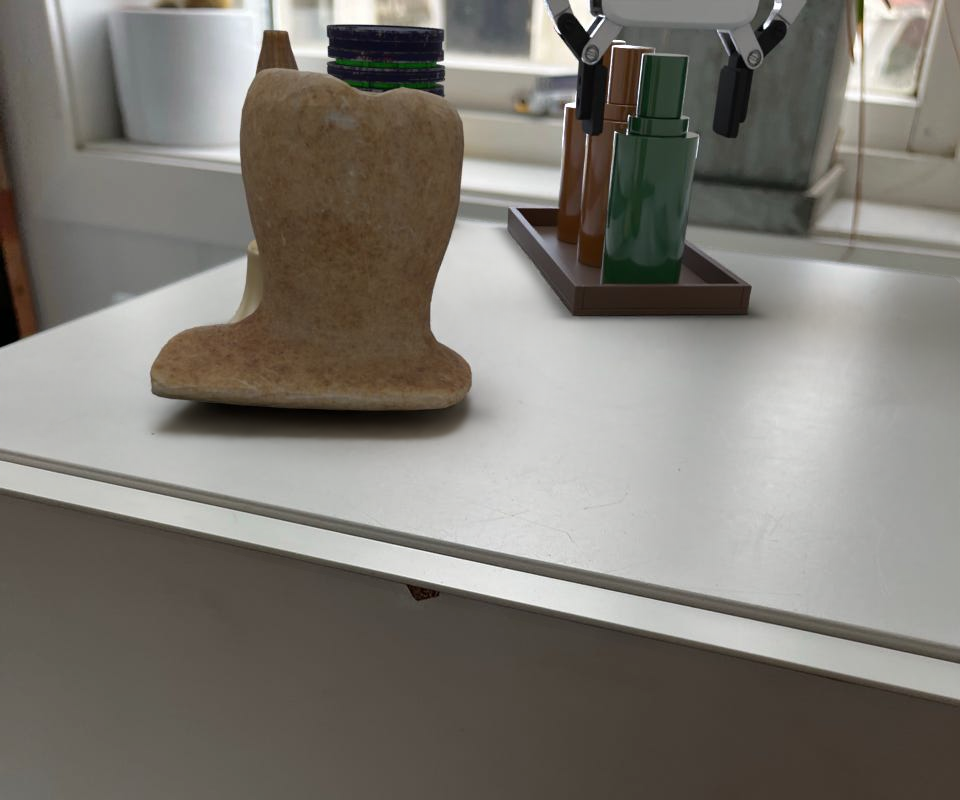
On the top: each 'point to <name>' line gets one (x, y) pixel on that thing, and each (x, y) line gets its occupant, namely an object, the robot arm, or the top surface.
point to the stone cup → (336, 254)
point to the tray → (582, 293)
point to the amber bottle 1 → (574, 167)
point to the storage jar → (387, 57)
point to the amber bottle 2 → (606, 151)
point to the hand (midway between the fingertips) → (658, 133)
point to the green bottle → (651, 180)
